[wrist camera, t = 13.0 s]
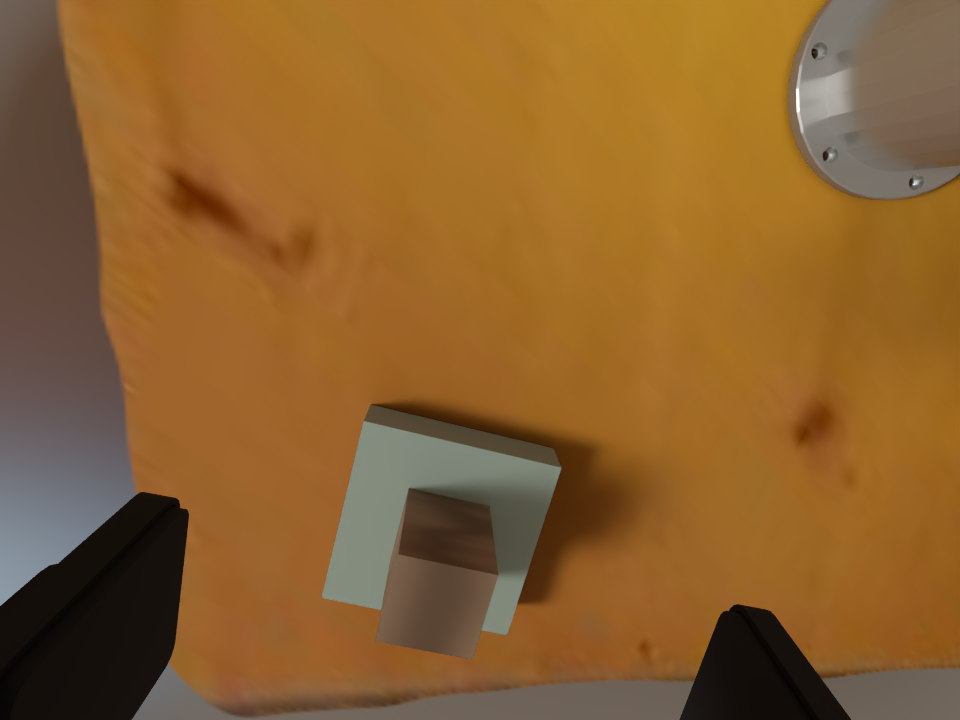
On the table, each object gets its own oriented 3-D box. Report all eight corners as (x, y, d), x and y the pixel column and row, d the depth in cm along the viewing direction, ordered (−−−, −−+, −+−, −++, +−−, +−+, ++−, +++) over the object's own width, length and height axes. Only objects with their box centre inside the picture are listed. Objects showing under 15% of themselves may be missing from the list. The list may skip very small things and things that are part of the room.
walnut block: (489, 505, 36) (498, 575, 29) (468, 576, 37) (472, 659, 30) (408, 487, 35) (398, 554, 28) (389, 560, 36) (375, 641, 29)
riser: (553, 448, 38) (561, 467, 35) (502, 604, 41) (506, 635, 38) (370, 404, 37) (363, 421, 34) (331, 569, 39) (321, 597, 37)
